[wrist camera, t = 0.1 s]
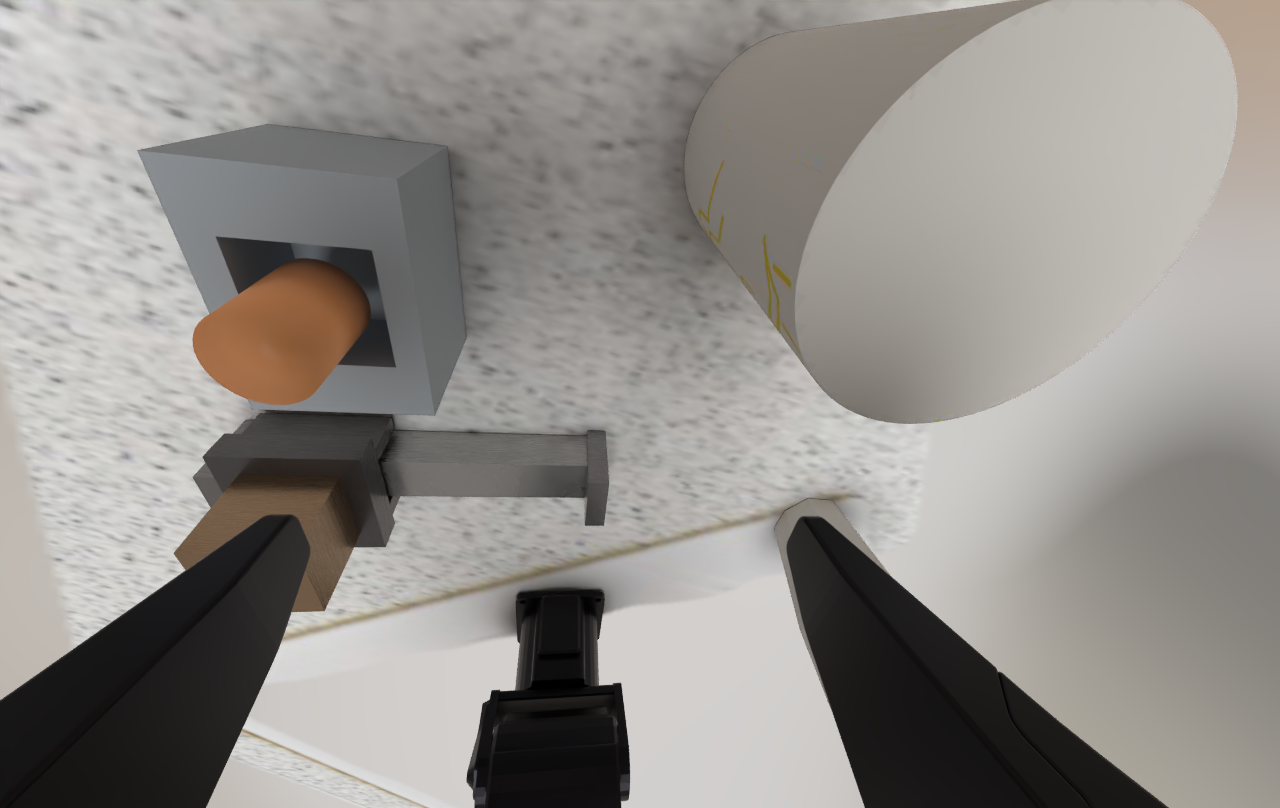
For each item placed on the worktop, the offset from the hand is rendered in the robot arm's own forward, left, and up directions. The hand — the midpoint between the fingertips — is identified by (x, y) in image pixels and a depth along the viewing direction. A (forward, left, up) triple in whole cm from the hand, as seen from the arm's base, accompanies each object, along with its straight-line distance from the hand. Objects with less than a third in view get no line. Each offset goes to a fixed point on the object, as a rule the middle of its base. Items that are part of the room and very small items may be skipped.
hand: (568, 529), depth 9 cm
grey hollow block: (0, +8, -15) cm, 17 cm away
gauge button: (0, +8, -9) cm, 12 cm away
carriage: (-11, +12, -15) cm, 22 cm away
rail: (-11, +7, -15) cm, 20 cm away
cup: (+5, -8, -15) cm, 18 cm away
